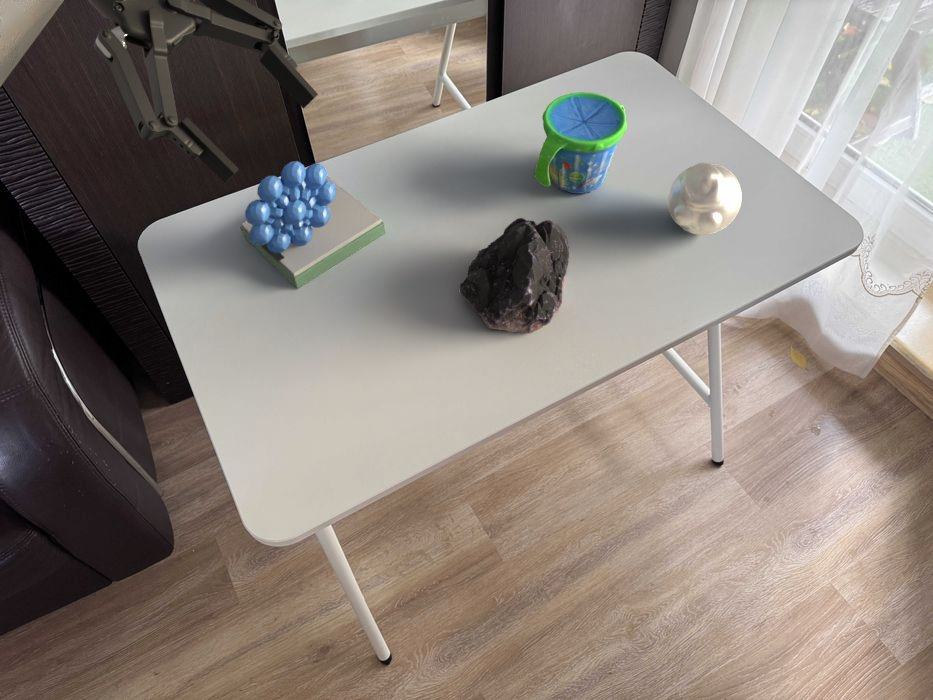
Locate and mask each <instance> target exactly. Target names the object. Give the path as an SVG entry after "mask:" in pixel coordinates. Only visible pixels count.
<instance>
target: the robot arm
mask: <svg viewBox="0 0 933 700" xmlns="http://www.w3.org/2000/svg"><path fill="white" fill-rule="evenodd" d="M64 1H65V0H0V88H1V87H2V85H3V84H4V82H6V80H7V79H8V77H9V76H10V75H11V73H12V72H13V70H14V69H15V68H16V66H17V65H18V64H19V62H20V61H21V60H22V58H23V57H24V56H25V54H26V53H27V51H28V50H29V49H30V47H31V46H32V44H33V43H34V42H35V41H36V39H37V38H38V36H39V35H40V34H41V33H42V31H43V30H44V28H45V27H46V26H47V24H48V23H49V21H50V20H51V19H52V18H53V16H54V15H55V13H56V12H57V11H58V9H59V8H60V7H61V5H62V4H63V3H64ZM193 1H194V2H192V1H191V0H87V2H89V4H90V5H91V6H92V7H93V8H94V9H95V10H96V11H97V12H98V13H99V14H100V15H101V16H102V17H103V18H105V19H106V20H108V21H110V22H111V23H112V24H113V25H114V27H113V28H111V29H109V28H106V27H102V28H101V29H100V30H98V34H97V36H96V39H95V41H94V44H93V48H94V50H95V52H96V53H97V54H98V55H99V56H100V57H101V59H103V60H104V62H105V63H106V64H107V66H108V67H109V69H110V71H111V73H112V76H113V78H114V80H115V83H116V85H117V87H118V90H119V92H120V95H121V97H122V99H123V101H124V103H125V106H126V108H127V110H128V113H129V115H130V117H131V119H132V121H133V124H134V126H135V128H136V131H137V133H138V136H139V138H140V139H141V140H143V141H144V142H150V141H151V140H153V139H155V138H159V139H162V140H164V139H168V140H170V142H172V143H173V144H174V145H175V147H177V148H178V149H179V150H180V151H181V152H182V153H183V154H184V155H185V156H186V157H187V158H189V160H192V161H196V160H197V159H200V160H201V161H202V163H204V165H206V167H207V168H209V169H210V171H211V172H213V173H214V174H215V175H216V176H217V177H218V178H219V179H220V180H221V181H222V182H223V184H226V183H227V182H228V181H229V180H230V179H231V178H232V177H233V176H234V175H235V174H236V173H237V172H238V171H239V170H240V169H239V168H238V166H237V165H236V164H235V163H234V162H233V161H232V160H230V158H229V157H227V156H226V154H225V153H224V152H222V150H221V149H220V148H219V147H218V146H217V145H215V143H214V142H213V141H212V140H211V139H209V137H208V136H207V135H206V134H205V133H204V132H203V131H202V130H201V129H200V128H199V127H198V126H197V125H196V124H195V123H194V122H193V121H191V119H190V118H188V116H186V117H185V118H183V119H182V120H181V121H180V122H179V118H178V113H177V107H176V101H175V96H174V91H173V83H172V78H171V73H170V68H169V62H168V56H170V55H172V53H174V52H175V51H176V49H177V48H178V46H180V45H184V44H186V43H187V42H188V41H190V40H191V38H192V37H193V36H195V37H199V38H201V37H207V38H211V39H214V40H217V41H221V42H224V43H226V44H230V45H233V46H236V47H240V48H243V49H246V50H249V51H253V52H256V53H259V54H262V56H261V57H260V58H259V62H260V63H261V65H263V67H265V69H266V70H267V71H268V72H269V73H270V74H271V75H272V76H273V78H274V79H275V80H276V81H277V82H278V83H279V84H280V85H281V86H282V88H283V89H284V90H286V92H287V93H289V96H291V97H292V98H293V99H294V101H296V103H297V104H298V105H299V106H300V107H301V108H302V109H305V108H306V107H307V106H308V105H309V104H310V103H311V102H312V101H313V100H314V99H315V98H316V97H317V96H318V95H319V93H318V92H317V91H316V90H315V89H314V88H313V86H312V85H311V84H309V82H308V81H307V80H306V79H305V78H304V77H303V76H302V75H301V73H300V72H299V71H298V70H297V69H298V64H297V62H296V61H295V60H294V59H293V58H292V56H290V54H289V53H288V52H287V51H286V49H284V47H282V46H281V44H280V43H279V41H278V40H279V38H280V32H281V31H280V30H281V29H282V28H283V23H282V21H281V20H280V19H278V18H277V17H275V16H274V15H272V14H270V13H268V12H266V11H264V10H263V9H261V8H260V7H258V6H256V5H254V4H252V3H251V2H249V1H247V0H198V2H200V4H198V3H195V2H196V1H197V0H193ZM201 4H202V5H201ZM212 11H214V12H212ZM127 43H129V44H131V45H135V46H138V47H140V48H141V51H142V57H143V63H144V67H145V68H146V71H147V75H148V81H149V86H150V93H151V99H152V104H153V107H152V105H151V102H150V100H149V97H148V95H147V93H146V91H145V88H144V86H143V83H142V81H141V78H140V77H139V74H138V72H137V70H136V67H135V64H134V62H133V60H132V57H131V56H130V53H129V52H128V50H127V49H128V45H127Z"/></svg>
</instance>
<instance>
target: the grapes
mask: <svg viewBox="0 0 933 700" xmlns="http://www.w3.org/2000/svg"><path fill="white" fill-rule="evenodd" d="M327 176H328V171H327V169H326V166H324V165H322V164H320V163H312V164H310V165H309V166H307V167H305V165H304V164H302V163H301V162H300V161H298V160H295V161H290V162H287V164H285V165H284V166H283V168H282V170H281V172H280V178H279V177H277V176H276V175H268V176H266V177H264V178H263V179H261V180H260V182H259V184H258V186H257V196H258V198H259V199H254V200H252V201H251V202H250V203H248V205H247V207H246V209H245V211H244V218H245V221H247V222H248V223H250V224H252V225H253V226H252V228H251V230H250V233H249V238H250V240H251V242H252V243H254V244H255V245H265V244H267V247H268V249H269V251H271V252H273V253H282V252H284V251H285V250H286V249H287V248H288V246H289V244H290V242H291V243H292V244H294V245H295V246H304V245H306V244H307V243H308V242H309V241H310V240H311V238H312V235H313V229H312V227H314V228H321V227H323V226H324V225H326V224H327V222H328V221H329V219H330V213H331V211H330V209H329V207H328V206H326V205H328V204H330V203H331V202H332V201H333V200H334V198H335V196H336V187H335V185H334V183H332V182H330V181H326V179H327ZM311 226H312V227H311Z"/></svg>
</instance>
